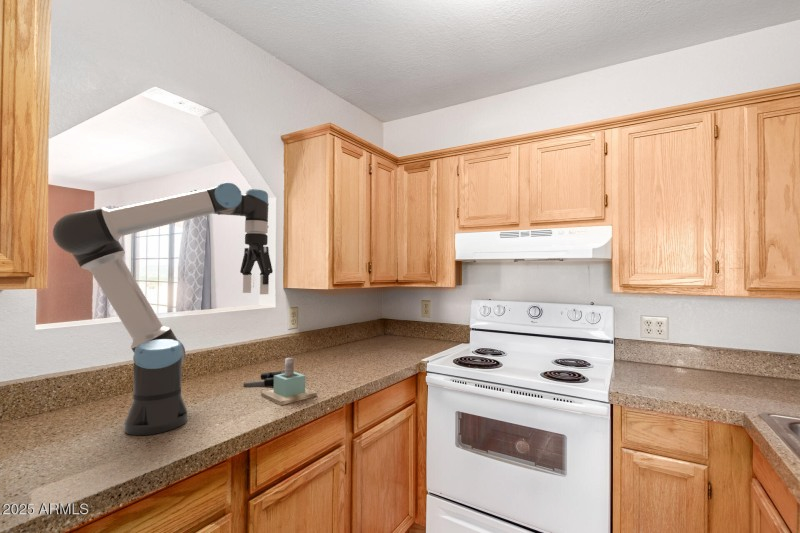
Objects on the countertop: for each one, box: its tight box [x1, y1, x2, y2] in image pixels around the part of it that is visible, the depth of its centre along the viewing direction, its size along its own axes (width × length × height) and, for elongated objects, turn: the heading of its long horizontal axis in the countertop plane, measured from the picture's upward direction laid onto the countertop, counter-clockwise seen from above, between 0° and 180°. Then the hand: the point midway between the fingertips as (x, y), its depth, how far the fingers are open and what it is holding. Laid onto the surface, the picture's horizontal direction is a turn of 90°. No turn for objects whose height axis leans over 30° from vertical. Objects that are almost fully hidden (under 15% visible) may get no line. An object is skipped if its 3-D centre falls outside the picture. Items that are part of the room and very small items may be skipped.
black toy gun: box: [243, 369, 285, 388], centre depth 150 cm, size 3×20×16 cm
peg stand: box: [260, 357, 318, 406], centre depth 134 cm, size 14×14×13 cm
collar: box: [273, 371, 306, 397], centre depth 134 cm, size 8×8×6 cm
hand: (255, 293), depth 133 cm, fingers open, 13 cm apart
